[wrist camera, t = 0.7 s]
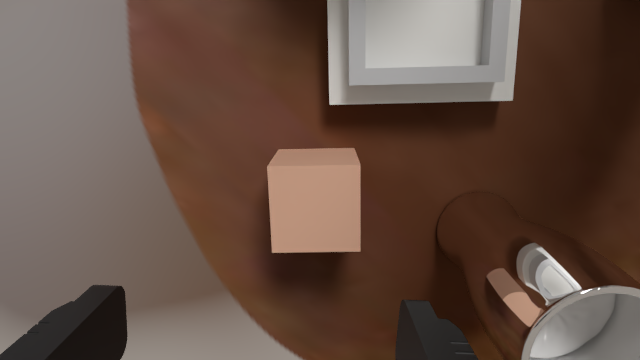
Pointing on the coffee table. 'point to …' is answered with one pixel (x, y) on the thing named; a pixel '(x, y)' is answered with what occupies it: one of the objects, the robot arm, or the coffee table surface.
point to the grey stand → (421, 50)
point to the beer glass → (539, 285)
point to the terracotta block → (314, 200)
